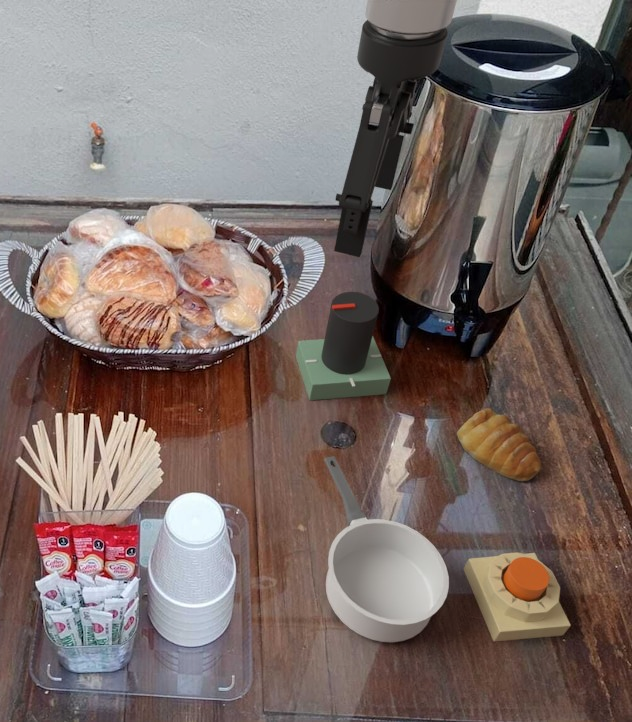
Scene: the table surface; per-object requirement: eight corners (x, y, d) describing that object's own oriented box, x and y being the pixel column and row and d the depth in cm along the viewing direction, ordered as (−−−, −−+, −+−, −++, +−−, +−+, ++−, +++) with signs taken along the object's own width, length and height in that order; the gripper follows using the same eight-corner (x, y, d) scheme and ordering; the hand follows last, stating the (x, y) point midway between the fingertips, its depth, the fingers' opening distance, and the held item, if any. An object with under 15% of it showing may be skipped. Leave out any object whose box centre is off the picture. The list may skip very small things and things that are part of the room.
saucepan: (368, 475, 90) (377, 446, 86) (456, 635, 76) (472, 608, 72) (275, 496, 89) (280, 467, 85) (348, 662, 75) (358, 637, 71)
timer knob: (358, 342, 101) (371, 287, 95) (371, 372, 98) (385, 318, 91) (316, 345, 101) (326, 291, 95) (327, 376, 97) (338, 322, 91)
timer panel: (366, 346, 105) (370, 329, 103) (388, 399, 98) (393, 382, 96) (294, 351, 105) (296, 335, 103) (311, 405, 98) (314, 389, 96)
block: (528, 563, 82) (540, 543, 79) (563, 635, 76) (578, 617, 73) (463, 568, 81) (473, 549, 79) (493, 641, 76) (505, 623, 73)
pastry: (550, 467, 90) (562, 447, 87) (511, 495, 88) (522, 475, 85) (485, 417, 96) (494, 396, 93) (447, 441, 93) (455, 421, 91)
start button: (532, 565, 77) (539, 555, 76) (548, 599, 75) (556, 588, 73) (497, 569, 77) (503, 558, 76) (512, 602, 75) (519, 592, 73)
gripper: (396, -29, 79) (360, 155, 94) (325, 73, 63) (296, 274, 79) (472, -20, 76) (423, 168, 91) (418, 89, 61) (369, 293, 76)
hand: (364, 217), depth 85 cm, fingers open, 13 cm apart
